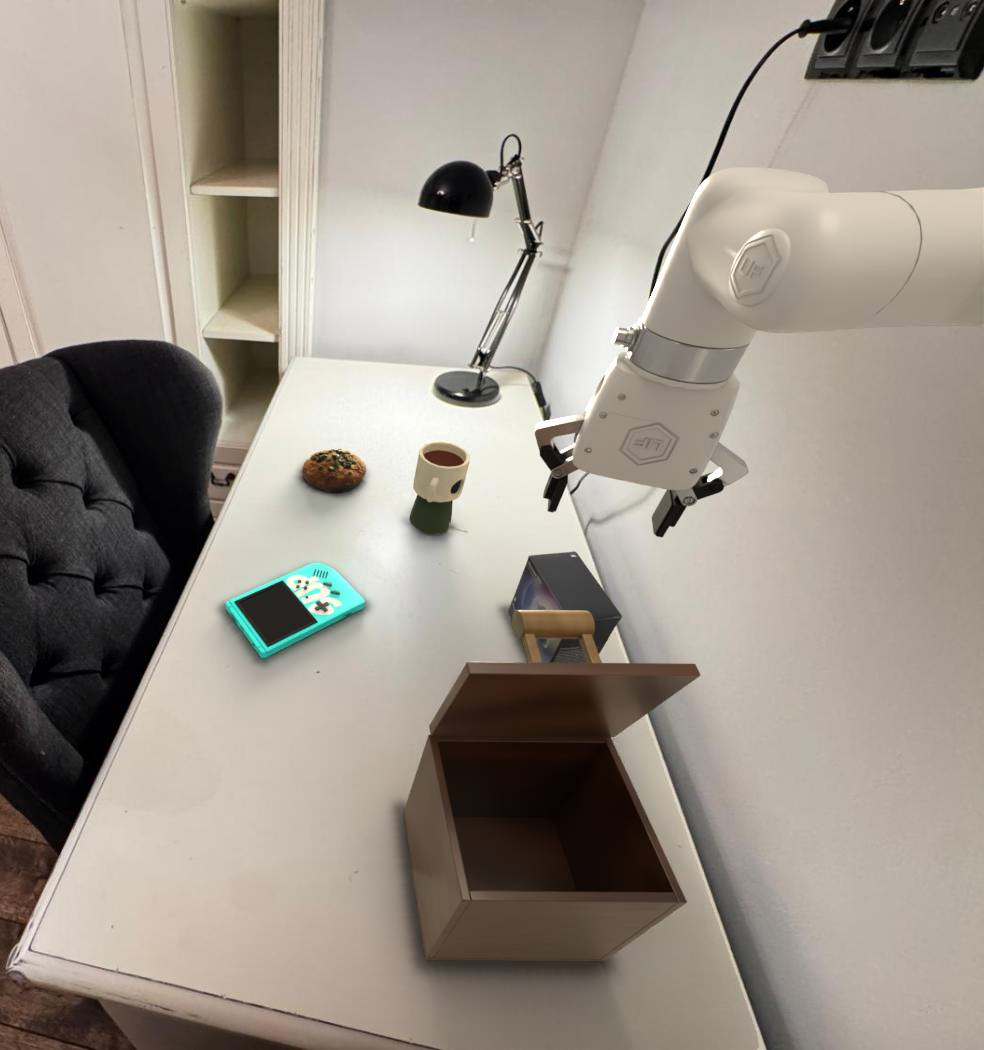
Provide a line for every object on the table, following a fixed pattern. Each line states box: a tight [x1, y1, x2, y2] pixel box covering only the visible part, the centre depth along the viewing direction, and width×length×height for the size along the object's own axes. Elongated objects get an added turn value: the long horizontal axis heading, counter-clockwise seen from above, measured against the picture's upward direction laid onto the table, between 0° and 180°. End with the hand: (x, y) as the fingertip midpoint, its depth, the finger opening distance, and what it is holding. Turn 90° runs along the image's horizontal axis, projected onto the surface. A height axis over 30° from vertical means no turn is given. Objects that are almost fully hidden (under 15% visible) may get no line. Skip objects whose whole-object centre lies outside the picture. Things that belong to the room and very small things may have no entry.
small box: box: [507, 550, 623, 663], centre depth 68 cm, size 11×6×10 cm, turn 6°
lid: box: [428, 610, 701, 738], centre depth 42 cm, size 12×15×6 cm
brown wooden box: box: [402, 733, 688, 962], centre depth 46 cm, size 12×15×15 cm
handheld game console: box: [225, 562, 366, 659], centre depth 75 cm, size 10×16×1 cm, turn 122°
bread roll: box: [301, 448, 367, 494], centre depth 97 cm, size 11×11×5 cm
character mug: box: [408, 440, 471, 536], centre depth 84 cm, size 11×7×13 cm, turn 154°
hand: (602, 515), depth 56 cm, fingers open, 9 cm apart
